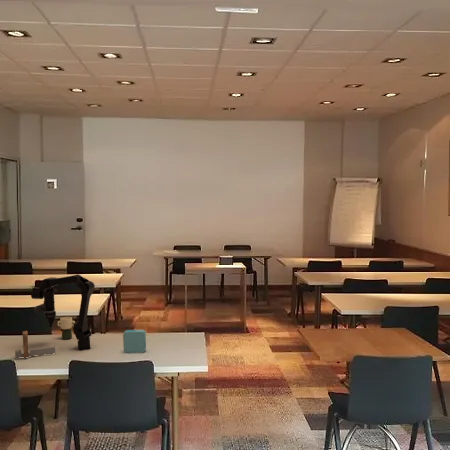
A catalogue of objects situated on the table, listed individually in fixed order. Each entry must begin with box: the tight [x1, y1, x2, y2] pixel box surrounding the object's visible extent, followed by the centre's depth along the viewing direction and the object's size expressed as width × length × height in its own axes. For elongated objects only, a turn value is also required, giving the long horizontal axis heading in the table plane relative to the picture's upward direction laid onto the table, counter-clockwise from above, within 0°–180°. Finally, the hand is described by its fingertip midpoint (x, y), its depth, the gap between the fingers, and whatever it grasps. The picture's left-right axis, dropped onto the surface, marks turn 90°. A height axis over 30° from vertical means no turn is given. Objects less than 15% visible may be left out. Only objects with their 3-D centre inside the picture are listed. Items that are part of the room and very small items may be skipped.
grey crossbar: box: [14, 346, 56, 358], centre depth 302 cm, size 21×2×4 cm, turn 110°
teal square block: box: [122, 329, 147, 354], centre depth 306 cm, size 12×4×12 cm, turn 89°
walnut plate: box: [22, 330, 29, 359], centre depth 300 cm, size 2×7×14 cm, turn 20°
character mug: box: [57, 316, 76, 340], centre depth 339 cm, size 11×7×13 cm, turn 87°
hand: (50, 325), depth 320 cm, fingers open, 9 cm apart
